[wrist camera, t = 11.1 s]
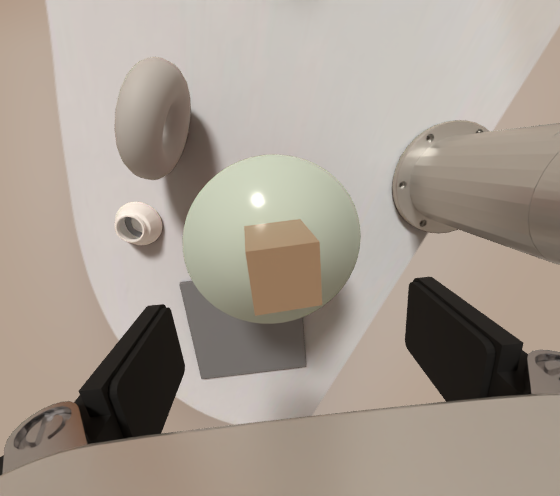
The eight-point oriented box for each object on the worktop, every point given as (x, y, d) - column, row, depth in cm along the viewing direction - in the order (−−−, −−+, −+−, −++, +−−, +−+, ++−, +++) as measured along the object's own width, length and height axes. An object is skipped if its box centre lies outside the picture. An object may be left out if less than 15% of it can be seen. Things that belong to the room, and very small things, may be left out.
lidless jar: (146, 193, 30) (109, 214, 31) (134, 197, 28) (94, 219, 28) (171, 231, 32) (136, 250, 32) (163, 238, 29) (125, 258, 30)
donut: (168, 72, 27) (116, 24, 17) (202, 85, 27) (170, 45, 18) (149, 170, 29) (96, 176, 20) (181, 181, 30) (144, 190, 21)
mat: (298, 269, 34) (299, 271, 34) (305, 363, 39) (306, 366, 38) (180, 282, 34) (179, 284, 33) (202, 375, 39) (201, 379, 38)
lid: (356, 145, 19) (404, 143, 13) (354, 303, 23) (390, 352, 18) (165, 164, 18) (130, 172, 12) (204, 327, 22) (192, 388, 17)
